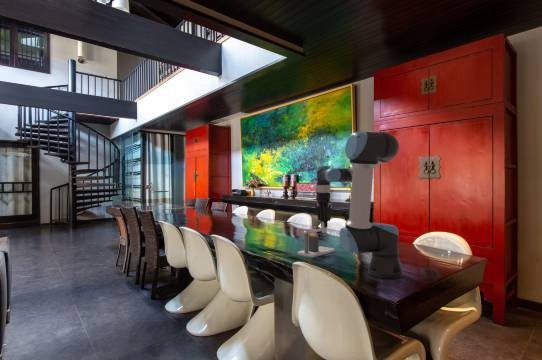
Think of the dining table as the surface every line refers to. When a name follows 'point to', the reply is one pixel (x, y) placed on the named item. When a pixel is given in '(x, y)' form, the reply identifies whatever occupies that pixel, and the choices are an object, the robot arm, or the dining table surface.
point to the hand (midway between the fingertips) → (324, 232)
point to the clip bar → (312, 231)
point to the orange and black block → (313, 243)
